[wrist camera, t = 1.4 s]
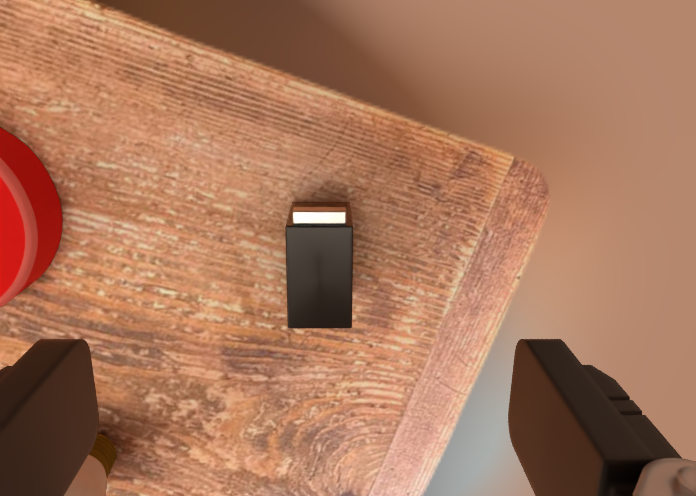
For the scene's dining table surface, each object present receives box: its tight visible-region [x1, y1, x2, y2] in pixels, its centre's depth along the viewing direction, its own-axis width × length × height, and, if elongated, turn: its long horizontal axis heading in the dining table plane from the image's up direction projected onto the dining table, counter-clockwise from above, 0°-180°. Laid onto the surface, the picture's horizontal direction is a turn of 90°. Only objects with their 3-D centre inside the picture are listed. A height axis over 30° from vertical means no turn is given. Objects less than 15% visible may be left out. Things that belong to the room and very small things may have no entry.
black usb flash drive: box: [286, 202, 353, 328], centre depth 29 cm, size 6×3×4 cm, turn 179°
